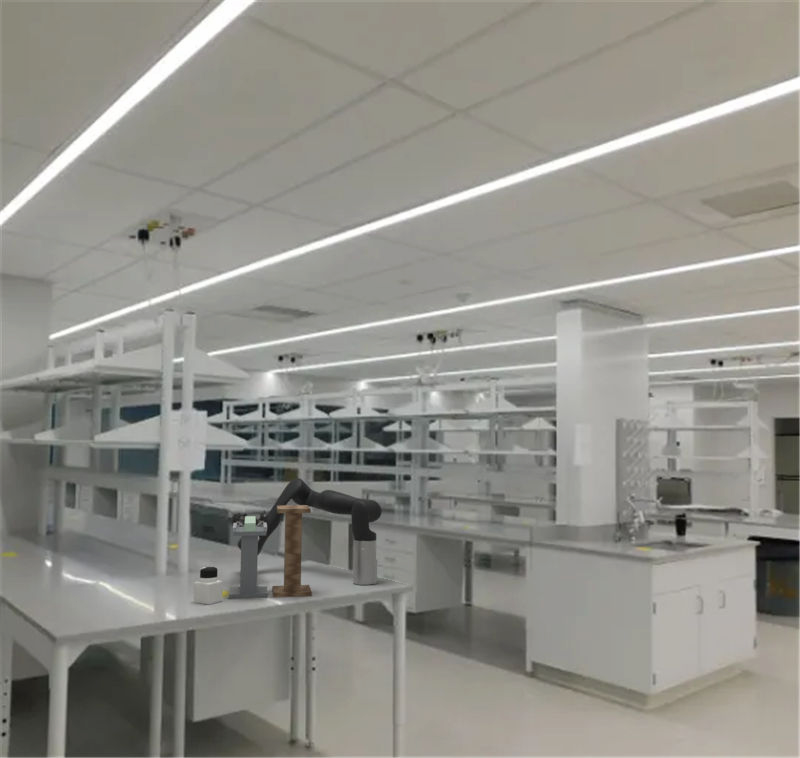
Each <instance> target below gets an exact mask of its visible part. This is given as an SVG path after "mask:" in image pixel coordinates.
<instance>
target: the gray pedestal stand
mask: <svg viewBox="0 0 800 758" xmlns="http://www.w3.org/2000/svg"><path fill="white" fill-rule="evenodd" d="M266 532H267V523H263V527H256V531H252V532H244V527H240V526H237V523H234V524H233V525H232V537H240V538H241V550H240V580H239V586H230V587H229V590H228V599H230V600H231V599H234V600H235V599H236V600H237V599H262V598H265V599H266V598H268V597H269V590H268V589H269V588H268V585H259V586H258V558H259V557H258V556H259V555H258V541H259V536H263V535H266Z"/></svg>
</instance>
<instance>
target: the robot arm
mask: <svg viewBox="0 0 800 758" xmlns="http://www.w3.org/2000/svg"><path fill="white" fill-rule="evenodd" d="M290 501H293V502H294V503H295V505H308V506H309V507H310V508H315V509H318V510H321V511H324V512H328V513H331V514H335V515H351V532H352V535H353V563H352V565H353V570H352V573H353V574H352V575H353V576H352V578H353V579H352V581H353V584H354V585H360V586H361V585H363V586H368V585H374V584H378V559H377V532H376V531H373V530H371V529H370V523H374V522H377V520H379V519H380V518H381V515H382V512H383V511H382V508H381V505H380V503H378V502H377V501H376V500H374V499H365V498H361V497H359V498H358V497H355V496H352V495H349V494H346V493H343V492H340V491H335V490H332V489H325V490H323V491H320V492H319V491H315V490H314V489H312V488H310V487H309V485H308V484H307V483H306V482H305V481H304V480H303V479H302V478H298V477H296V478H294V479H292V480H291V481H290V482H289V483H288V484H287V485H286V487H284V489H283V490H282V492H281V493H280V495H279V497H278V498H277V499H276V501H275V503H273V506H272V507H271V509H270V510H269V511H268V513H267V514H266V515H265V513H263V511H260V512H259V513H260V514H259V516H255V519H256V527H263V523H267V532H266V535H263V536H258V556H259V554H260V553H261V551H262V549H263V548H264V545H265V543H266V542H267V541H268V539H269V538H270V536H271V535H272V534H273V532H275V530H276V529H277V528H278V526H279V525H280V524H281V520H282V518H283V514H284V513H278V512H277V506H278V505H287V504H288V503H289V502H290ZM231 523H232V524H231V525H232V526H233V524H234V523H237V527H244V524H245V516H241V512H239V511H238V513H236V516H232V517H231ZM237 541H238V542H237V547H238V549H240V551H241V537H240V538H239V540H237Z"/></svg>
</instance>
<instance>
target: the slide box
mask: <svg viewBox="0 0 800 758" xmlns="http://www.w3.org/2000/svg"><path fill="white" fill-rule="evenodd" d="M244 517H245V524H244V532H252V531H256V519H255V518H256V515H251V516H249V515H247V516H244Z"/></svg>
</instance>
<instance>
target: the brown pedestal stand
mask: <svg viewBox="0 0 800 758" xmlns="http://www.w3.org/2000/svg"><path fill="white" fill-rule="evenodd" d="M311 511H312V509H311V507H309V506H308V505H298V504H294V505H293V504H292V505H291V504H290V505H278V506H277V512H278V513H283V514H284V554H283V555H284V557H283V585H272V589H271V590H272V596H273V598H287V597H288V598H291V597H292V598H293V597H312V596H313V595H312V594H313V592H312V589H311V587H310V584H302V547H303V546H302V544H303V543H302V542H303V540H302V539H303V537H302V536H303V514H311Z"/></svg>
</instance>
